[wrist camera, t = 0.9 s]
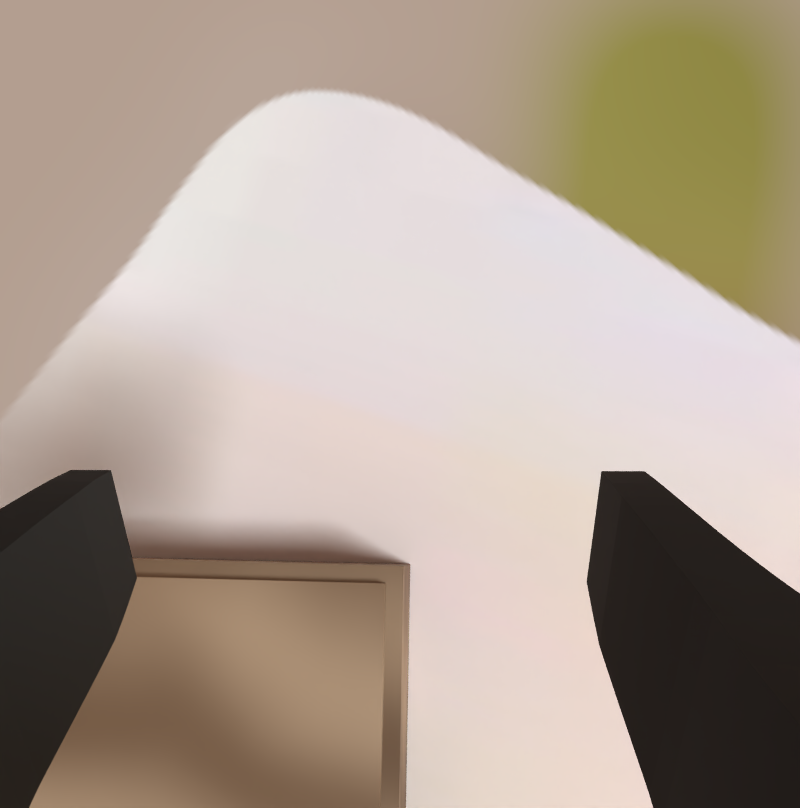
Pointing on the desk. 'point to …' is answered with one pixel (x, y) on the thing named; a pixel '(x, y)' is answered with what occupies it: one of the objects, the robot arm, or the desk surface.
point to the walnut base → (246, 691)
